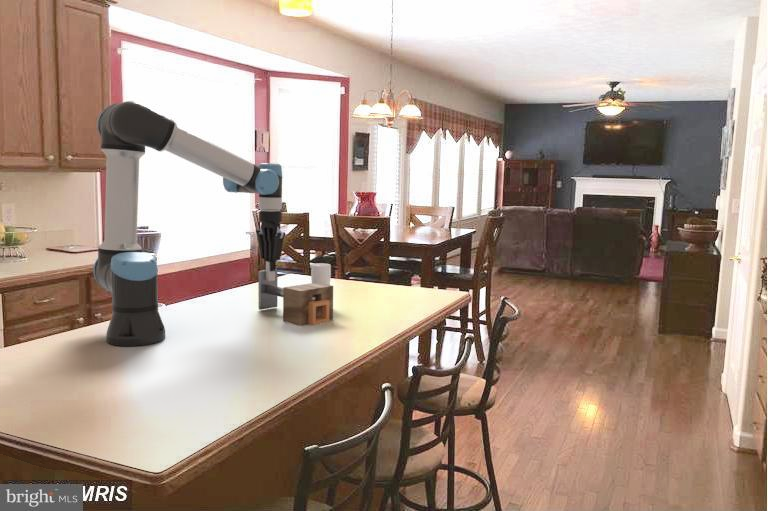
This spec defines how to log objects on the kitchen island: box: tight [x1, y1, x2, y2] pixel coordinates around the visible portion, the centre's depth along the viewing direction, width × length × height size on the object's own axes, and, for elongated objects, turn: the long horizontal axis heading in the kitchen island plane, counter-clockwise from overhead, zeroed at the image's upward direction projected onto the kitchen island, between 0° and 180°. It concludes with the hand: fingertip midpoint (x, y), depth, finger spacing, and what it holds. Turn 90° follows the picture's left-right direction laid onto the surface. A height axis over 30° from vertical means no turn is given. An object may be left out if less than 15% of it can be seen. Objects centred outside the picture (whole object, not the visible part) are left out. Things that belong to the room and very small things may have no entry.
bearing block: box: [282, 282, 334, 327], centre depth 202 cm, size 14×8×11 cm, turn 138°
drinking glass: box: [310, 262, 332, 285], centre depth 222 cm, size 7×7×15 cm
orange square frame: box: [307, 300, 330, 326], centre depth 199 cm, size 7×2×7 cm, turn 138°
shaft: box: [257, 268, 318, 311], centre depth 208 cm, size 7×24×13 cm, turn 48°
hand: (270, 280), depth 215 cm, fingers closed
